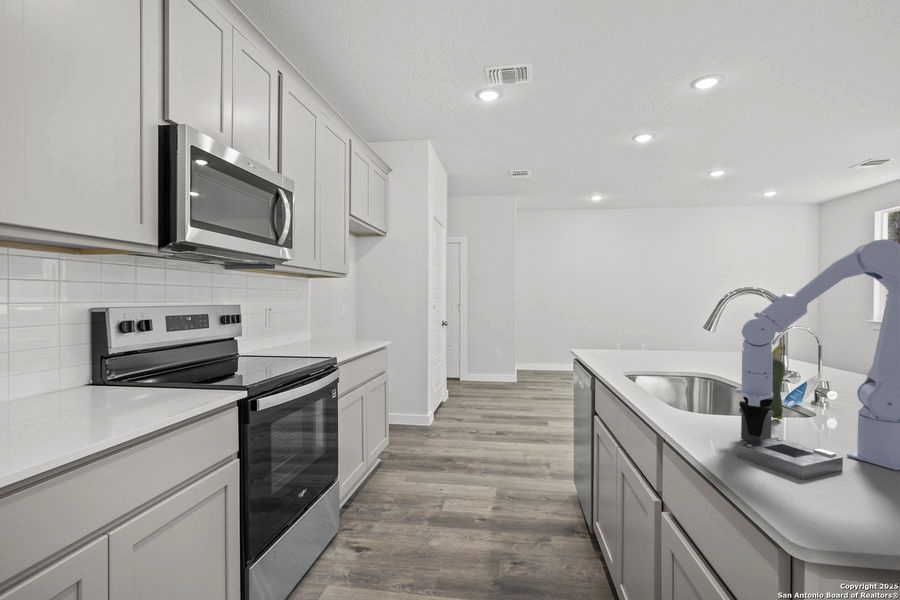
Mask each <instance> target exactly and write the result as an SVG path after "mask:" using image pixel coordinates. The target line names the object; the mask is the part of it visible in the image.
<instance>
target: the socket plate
mask: <svg viewBox="0 0 900 600" xmlns="http://www.w3.org/2000/svg"><path fill="white" fill-rule="evenodd" d="M736 455H737V458H740V459H743V460H747V461H749V462H752V463H755V464H757V465H761V466H764V467H766V468H769V469H772V470H774V471H777V472H780V473H782V474H785V475H788V476H791V477H794V478H797V479H800V480H803V481H804V480H806V479H811V478H815V477H820V476H824V474H825V475H827V474H828V473H829V474H832V472H833V473H837V472H841V471H843V464H844V463H843V462H844V460H843V458H844V457H843V456H840V455H838V454H837V453H836V452H832V451H830V450H826V449H822V448H813V447H810V446H808V445H807V446H806V445H802V444H800V443H796V442H793V441H790V440H786V439H782V438H779V437H771V438H770V439H765V440H759V441H753V442H750V441H748V442H743V443H738V444H737V453H736ZM840 470H841V471H840ZM836 471H837V472H836Z"/></svg>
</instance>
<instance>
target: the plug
mask: <svg viewBox="0 0 900 600" xmlns="http://www.w3.org/2000/svg"><path fill="white" fill-rule="evenodd" d="M738 413H741V418H740V420H741V424H740V425H741V430H740V439H742V440H744V441H748V442H753V441H759V440H765V439H770V438H772V416H774V411H771V410H769V412H768V413H767V415H766V417H765V420H764V425H763V430H762V433H761V436H760V437H759V436H753V435H749V433H748V429H747V424H746V419H745V416H744V413H743V411H742V409H741V407H739V411H738Z"/></svg>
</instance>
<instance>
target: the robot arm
mask: <svg viewBox="0 0 900 600" xmlns="http://www.w3.org/2000/svg"><path fill="white" fill-rule="evenodd" d="M860 275H866V276H870V277H872V278H874V279H875V281H877V282H879V284H881V285H882V286H883V287H885V288H886V289H887V297H886V299H885V300H886V301H885V306H884V311H883V314H882V320H881V325H880V329H879V333H878V339H877V343H876V348H875V353H874V356H873V361H872V366H871V367H870V368H869V370H868V372H867V375H866V378H865V381H864V382H863V383H861V384H860V385H859V387H858V389H857V395H856V396H857V397H858V401H860V403H861V404H862V405H863V406H861V408H860V409H859V410H858V412H857V413H858V415H857V446H856V447H857V450H856V451H853V452H849V453H846V456H847V457H850V458H852V459H855V460H856V459H857V460H859V461H863V462H867V463H870V464H873V465H877V466H880V467H884V468H887V469H890V470H894V471H899V470H900V243H899V242H897V241H895V240H892V239H889V238H888V239H886V238H881V239H880V238H879V239H875V240H873V241H870V242H868V243H866V244H865V243H864V244H862V245H860V246H858V247H857V248H856V249H854V250H853V251H852V252H849V253H847V254H846V255H844V256H841V257H840V258H839V259H837V260H836V261H833V262H832V263H831V264H829V265H828V266H827V267H826V268H825V269H824V270H822V271H821V272H820V273H819V274H818V275H816V276H815V277H814V278H812V280H810V281H809V282H808V283H806V284H805V285H804V286H803V287H801V289H799V290H798V291H796V292H795V293H784V294H781V296H778V295H776V296H774V297H773V298H772V299H771V301H773V302H772V303H770V304H769V305H768V306H766V307H765V308H764V309H763V310H761V311H760V312H758V311H757V312H755V313H754V314H753V316H754V317H755V318H752V319H749V320H748V321H746V322H745V323H744V325H743V326H742V329H741V335H742V337H743V343H742V348H743V350H742V351H741V388H740V387H739V388H735V390H734V391H735V393H738V394H741V395H742V396H743V397H742V399H743V400H744V401H741V400H740V401H739V408H741V409H742V411H743V413H744V416H745V419H746V424H747V429H748V433H749V435H753V436H759V437H760V436H761V433H762V430H763V425H764V420H765V417H766V415H767V413H768V412H769V410H770V409H771V407H769V406H770V404H771V403H772V401H773V398H772V397H773V393H772V379H773V378H772V377H773V353H772V352H773V350H772V348H773V347H772V342H773V341H774V339H775V336H776V333H782V332H784V330H786V329H788V327H790V326H791V325H793V324H794V323H795V322H797V321H799V319H800V318H802V317H803V316H805V315H806V314H808V313H807V312H808V305H809V304H810V303H811V302H813V301H814V300H815V299H817V298H819V297H820V296H821V295H822V294H824V293H826V292H827V291H828V290H830V289H832V287H834V286H835V285H837V284H838V283H840V282H841V281H844V280H845V279H848V278H851V277H856V276H860Z"/></svg>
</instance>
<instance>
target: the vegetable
mask: <svg viewBox="0 0 900 600" xmlns="http://www.w3.org/2000/svg"><path fill="white" fill-rule="evenodd" d="M783 350H784V346H783V345H782V344H778V345H777V346H776V347H775V348H774V349H773V350H772V351H771V352H772V353H773V377H772V378H773V379H772V393H773V397H772V398H773V401H772V403H771V404H770V406H769V407H771V409H770V410H771V411H774V416H771V418H773V419H774V418H777V419H780V420H782V419H783V413H784V411H783V402H782V395H781V390H782V389H781V388H782V384H783V380H784V377H785V371H786V368H785V367H786V366H785V363H784V362H783V361H782V360H781V359H780V358H781V356H782V355H781V354H782V351H783Z"/></svg>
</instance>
